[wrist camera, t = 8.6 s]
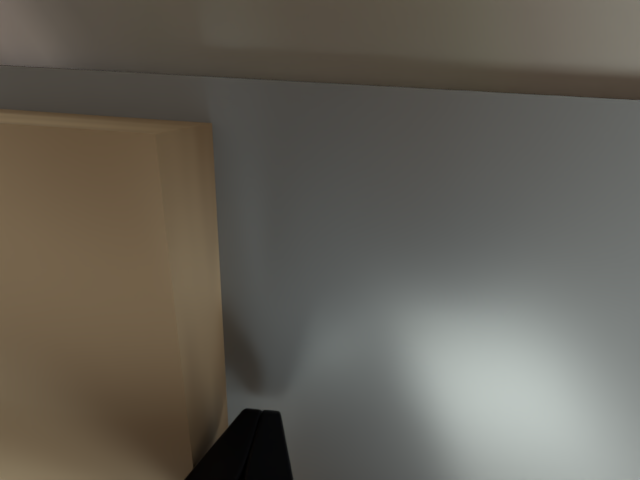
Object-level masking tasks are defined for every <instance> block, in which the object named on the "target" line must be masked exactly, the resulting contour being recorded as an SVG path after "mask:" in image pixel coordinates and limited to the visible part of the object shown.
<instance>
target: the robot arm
mask: <svg viewBox="0 0 640 480" xmlns="http://www.w3.org/2000/svg"><path fill="white" fill-rule="evenodd" d="M184 480H294V478H293V473H292V468H291V463H290V457H289V452H288V447H287V442H286V437H285V432H284V427H283V421H282V416H281V413H280V412H279V411H275V410H263V411H262V410H260V409H252V408H245V409H243V410H242V411H241V412H240V413H239V415H238V416H237V417H236V418H235V419H234V421H233V422H232V423H231V424H230V425H229V427H228V428H227V429H226V430H225V431H224V432H223V434H222V435H221V436H220V437H219V438H218V440H217V441H216V442H215V443H214V444H213V446H212V447H211V448H210V449H209V450H208V452H207V453H206V454H205V455H204V456H203V457H202V459H201V460H200V461H199V462H198V463H197V465H196V466H195V467H194V468H193V469H192V471H191V472H190V473H189V474H188V475H187V477H186V478H185V479H184Z"/></svg>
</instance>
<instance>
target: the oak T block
mask: <svg viewBox="0 0 640 480" xmlns="http://www.w3.org/2000/svg"><path fill="white" fill-rule="evenodd" d="M227 428H228V411H227V392H226V373H225V355H224V336H223V318H222V299H221V281H220V262H219V244H218V225H217V207H216V188H215V170H214V151H213V133H212V123H203V122H188V121H173V120H158V119H143V118H128V117H113V116H99V115H84V114H69V113H54V112H39V111H24V110H9V109H0V480H184V479H185V478H186V477H187V475H188V474H189V473H190V472H191V471H192V469H193V468H194V467H195V466H196V465H197V463H198V462H199V461H200V460H201V459H202V457H203V456H204V455H205V454H206V453H207V452H208V450H209V449H210V448H211V447H212V446H213V444H214V443H215V442H216V441H217V440H218V438H219V437H220V436H221V435H222V434H223V432H224V431H225V430H226V429H227Z"/></svg>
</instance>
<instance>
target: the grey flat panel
mask: <svg viewBox="0 0 640 480" xmlns="http://www.w3.org/2000/svg"><path fill="white" fill-rule="evenodd" d="M0 109H9V110H24V111H39V112H54V113H69V114H84V115H99V116H113V117H128V118H143V119H158V120H173V121H188V122H203V123H212V133H213V151H214V170H215V188H216V207H217V225H218V244H219V262H220V281H221V299H222V318H223V336H224V355H225V373H226V392H227V411H228V427H229V425H230V424H231V423H232V422H233V421H234V419H235V418H236V417H237V416H238V415H239V413H240V412H241V411H242V410H243V409H245V408H252V409H260V410H262V411H263V410H275V411H279V412H280V413H281V416H282V421H283V427H284V432H285V437H286V442H287V447H288V452H289V457H290V463H291V468H292V473H293V478H294V480H640V100H626V99H608V98H590V97H571V96H553V95H535V94H517V93H498V92H480V91H462V90H444V89H426V88H407V87H389V86H371V85H353V84H334V83H316V82H298V81H280V80H261V79H243V78H225V77H207V76H189V75H170V74H152V73H134V72H116V71H97V70H79V69H61V68H43V67H25V66H6V65H0Z"/></svg>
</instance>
